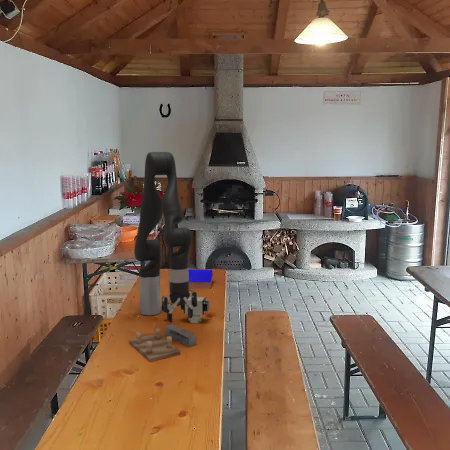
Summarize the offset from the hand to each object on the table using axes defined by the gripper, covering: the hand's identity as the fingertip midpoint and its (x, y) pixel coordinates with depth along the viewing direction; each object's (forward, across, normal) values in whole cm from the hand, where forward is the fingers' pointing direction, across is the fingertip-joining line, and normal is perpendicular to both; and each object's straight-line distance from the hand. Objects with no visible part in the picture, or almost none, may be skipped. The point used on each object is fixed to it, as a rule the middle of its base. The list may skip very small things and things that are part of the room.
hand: (180, 320), depth 186 cm
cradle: (+8, +12, +2) cm, 15 cm away
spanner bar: (+8, 0, 0) cm, 9 cm away
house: (+8, -36, -56) cm, 67 cm away
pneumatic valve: (+8, -14, -14) cm, 21 cm away
